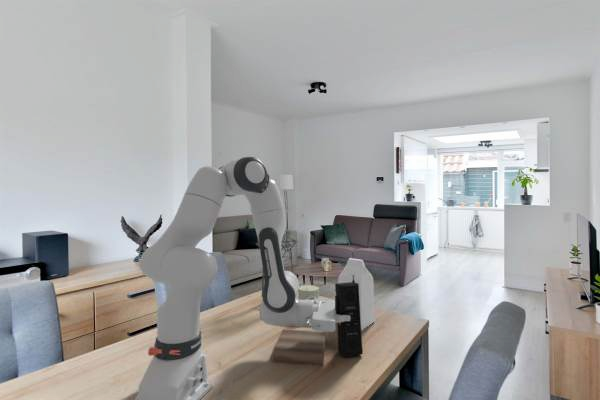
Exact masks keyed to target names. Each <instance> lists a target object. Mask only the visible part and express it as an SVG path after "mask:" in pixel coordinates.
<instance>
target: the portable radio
mask: <svg viewBox="0 0 600 400" xmlns="http://www.w3.org/2000/svg"><path fill="white" fill-rule="evenodd" d="M352 276H353V280H352V282H349V283H338V282H337V283H335V284H334V287H335V290H334V291H335V296H334V300H335V309H336V314H337V315H345V314H350V321H344V322H340V323H336V326H337V350H338V353H339V354H340V355H341V356H342V357H344V358H345V357H350V356H351V357H353V356H358V355H363V352H364V351H363V340H362V337H363V336H362V331H361V321H360V303H359V284H358V283H355V281H354V275H352Z"/></svg>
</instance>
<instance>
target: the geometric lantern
mask: <svg viewBox="0 0 600 400" xmlns="http://www.w3.org/2000/svg"><path fill="white" fill-rule="evenodd" d="M288 239H289V240H288ZM297 242H298V243H299V241H298V240H296V239H294V238H293V237H291V236H289V235H287V234H285V233H284V235H283V238H282V242H281V252H282V251H283V250H284V253H283V255H282V259H284V258H285V256H286V255H285V254H286V253H288V254H289V256H286V258H288V259H285V260H283V263H284V262H286V261H290V266H291V272H292V273H294V268H293V254H292V248H293V247H295V245H296V244H297ZM255 245H256V246H257V247H258V248H259V249H260V245H259V241H257V242H256V243H255ZM261 276H262V277H261V278H262V280H261V298H263V289H264V284H265V278H264V271H263V270H262V275H261Z"/></svg>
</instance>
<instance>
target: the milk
mask: <svg viewBox="0 0 600 400" xmlns="http://www.w3.org/2000/svg"><path fill="white" fill-rule="evenodd" d="M352 275H354V281H355V283H358V284H359V303H360V321H361V330H362V331H364V330H365V329H367V328H368V327H370V326H371V325H372V323H373V322H374V321H375V322H376V305H375V285H374V276H373V274H372V273H371V272H370V271H369V270H368V268H367V267H366V264H365V262H364V260H363V259H359V258H354V257H353V258H352V257H350V258H348V260H347V262H346V264H345V266H344V268H343V269H342V271H341V272H340V274H339V276H338V278H337V283H349V282H352V280H353V276H352ZM375 322H374V323H375ZM374 323H373V324H374ZM336 324H337V322H336ZM370 324H371V325H370ZM369 325H370V326H369ZM367 326H368V327H367ZM366 327H367V328H366ZM364 328H365V329H364Z"/></svg>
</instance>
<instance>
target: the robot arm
mask: <svg viewBox="0 0 600 400" xmlns="http://www.w3.org/2000/svg"><path fill="white" fill-rule="evenodd" d="M243 195H244V196H245V198H246V199H247V200H248V202H249V205H250V212H251V216H252V220H253V224H254V229H255V233H256V237H257V242H259V245H260V248H259V251H260V256H261V257H260V258H261V265H262V272H263V271H264V289H263V297H262V300H261V301H260V303H259V315H260V319H261V321H262V322H263V323H264V324H266V325H269V326H275V327H284V328H287V327H296V328H303V329H304V328H305V329H307V328H308V329H312V331H320V332H326V333H334V332H336V326H337V323H340V322H344V321H350V314H345V315H337V314H336V309H335V299H329V298H320V297H319V299H316V297H309V298H308V299H305V300H298V290H299V287H300V282H299V278H298V276H297V275H296V274H295V273H294V272H293V273H292V271H290V270H285V267H284V262H283V261H284V260H283V258H282V256H283V255H282V251H281V249H282V246H281V245H282V238H283V235H284V234H285V232H286V229H287V217H286V209H285V205H284V201H283V197H282V195H281V192H280V189H279V187H278V184H277V183H276V181H275V180H274V179H271V178H270V175H269V173H268V171H267V168H266V166H265V164H264V163H263V161H261V160H260V159H259V158H257V157H253V156H245V157H241V158H240V159H236V160H232V161H230V162H228V163H226V164H225V165H222V166H220V167H218V168H217V167H215V166H202V167H201V168H199V169H198V170H197V171H196V172H195V174H194V175H193V177H192V179H191V181H190V182H189V184H188V186H187V188H186V190H185V193H184V195H183V197H182V200H181V202H180V204H179V207H178V209H177V211H176V214H175V215H174V218H173V220H172V221H171V223H170V225H169V226H168V227H167V228H166V230H165V231H164V232H163V234H162V235H161V236H160V237H159V239H157V241H156V242H155V243H153V244H152V245H151V246H149V247H147V248H146V249H145V250H144V251H143V253H142V254H141V257H140V260H139V269H140V271H141V273H142V274H143V275H145V276H146V277H147V278H149V279H150V280H152V281H153V282H156V283H159V284H163V285H167V287H168V289H167V295H166V299H165V301H164V302H162V303H161V304H160V305H159V307H158V308H157V310H156V328H157V329H156V330H157V331H156V338H155V342H154V345H153V346H151V347H149V348H148V351H147V354H148V356H150V357H151V356H152V359H151V361H150V362H149V364H148V366H147V368H146V370H145V373H144V375H143V376H142V378H141V381H140V383H139V386H138V390H137V395H136V397H135V398H134V399H133V400H201V399H202V398H203V397H204V396H205V395H207V393H208V392H209V391H210V390H212V388H213V382H212V381H211V380H209V379H208V378H209V377H208V364H207V356H206V355H205V354H204V352H203V350H202V339H203V338H202V331H200V321H201V320H200V319H201V318H200V315H201V313H200V312H201V311H200V309H201V304H202V299H203V297H204V294H205V292H206V290H207V289H208V288H209V287H211V285H213V283H214V281H216V279H217V276H218V271H219V265H218V260H217V258H216V256H215V255H213V254H211V253H210V252H208V251H205V250H203V249H201V248H199V247H197V245H198V244H199V243H200V242H201V241H202V240H203V239H205V238H206V237H208V236H209V235H210V234H211V233H212V232H213V230H214V227H215V225H216V222H217V219H218V216H219V214H220V212H221V208H222V205H223V202H224V199H225V197H229V198H230V197H231V198H232V197H235V196H243ZM336 322H337V323H336Z"/></svg>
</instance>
